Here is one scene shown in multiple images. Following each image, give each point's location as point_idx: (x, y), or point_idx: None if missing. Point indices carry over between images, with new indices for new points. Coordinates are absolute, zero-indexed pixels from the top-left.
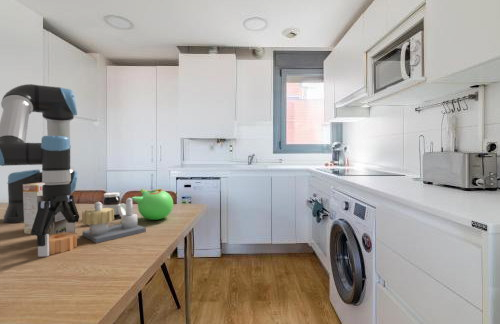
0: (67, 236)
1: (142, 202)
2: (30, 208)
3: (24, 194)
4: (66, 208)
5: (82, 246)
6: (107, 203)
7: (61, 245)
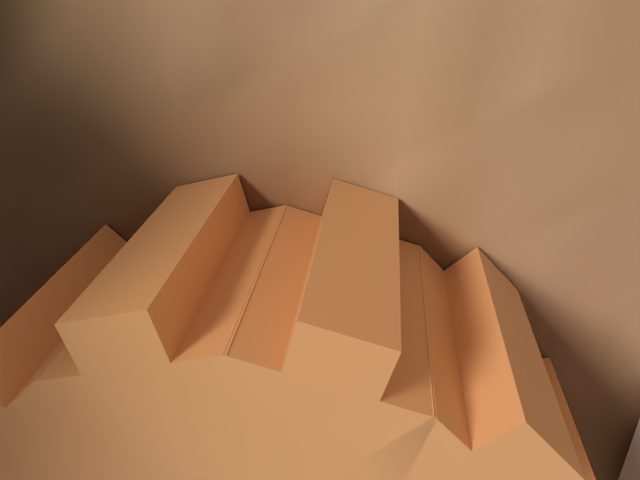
0: (260, 456)
1: None
2: None
3: None
4: None
5: (188, 66)
6: None
7: (537, 368)
